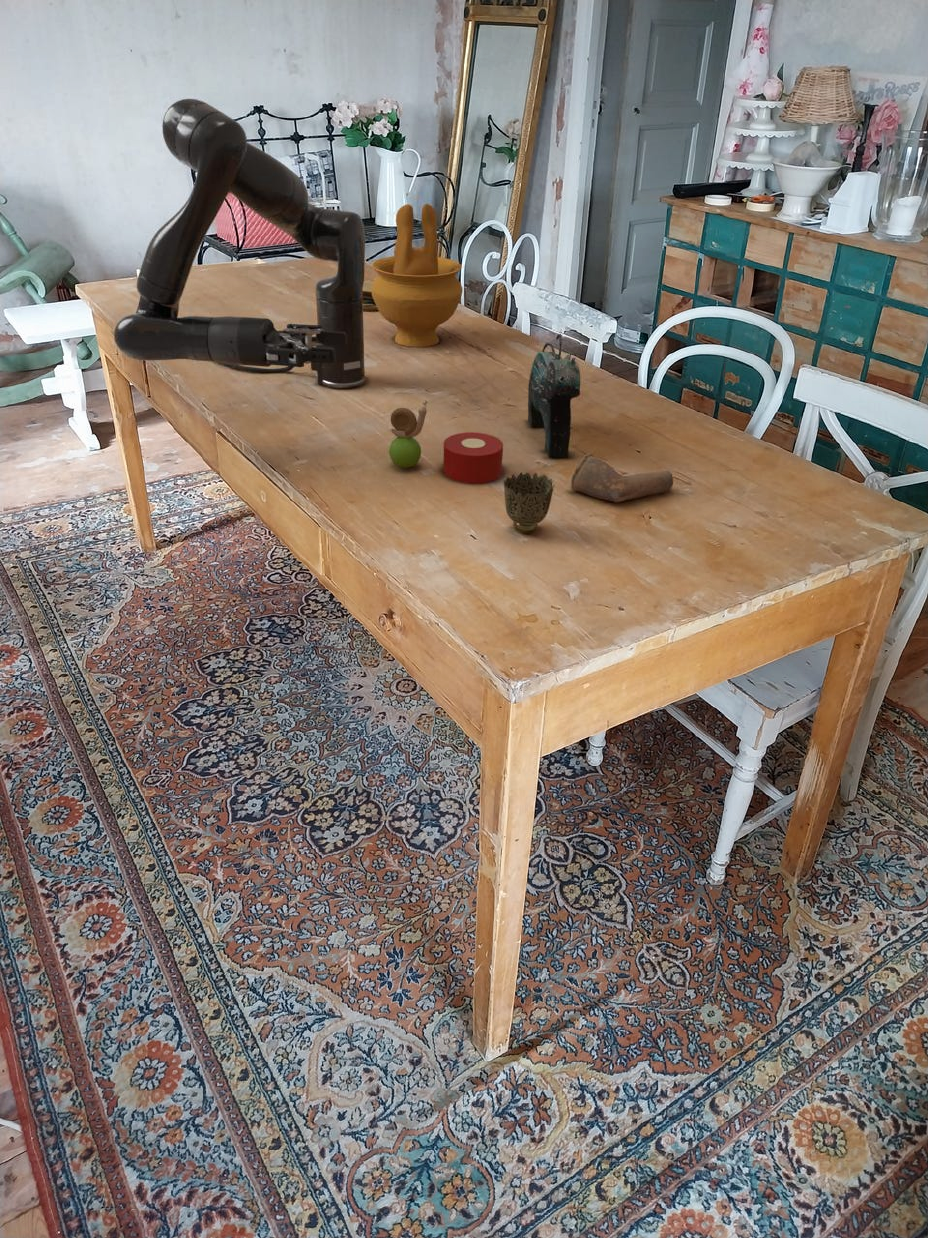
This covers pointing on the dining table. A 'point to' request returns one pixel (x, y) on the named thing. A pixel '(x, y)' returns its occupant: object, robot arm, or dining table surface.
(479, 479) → the cheese
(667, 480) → the pipe
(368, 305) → the toy sandwich meal
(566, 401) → the ceramic cat
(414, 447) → the snail figurine
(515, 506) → the cup
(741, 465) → the dining table surface
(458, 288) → the decorative bowl
